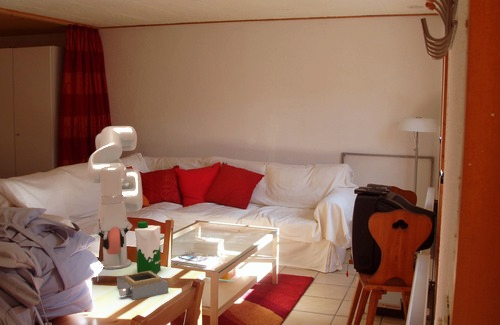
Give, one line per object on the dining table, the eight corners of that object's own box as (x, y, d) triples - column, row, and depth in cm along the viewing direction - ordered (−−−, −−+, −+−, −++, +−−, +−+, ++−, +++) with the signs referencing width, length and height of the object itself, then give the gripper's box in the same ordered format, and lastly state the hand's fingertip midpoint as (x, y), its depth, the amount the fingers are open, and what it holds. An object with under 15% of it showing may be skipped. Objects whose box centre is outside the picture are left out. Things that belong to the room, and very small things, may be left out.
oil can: (105, 251, 205) (103, 217, 203) (118, 249, 207) (117, 216, 206) (109, 255, 201) (108, 220, 199) (122, 252, 203) (121, 218, 201)
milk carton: (142, 268, 223) (141, 219, 221) (163, 269, 221) (162, 220, 219) (134, 274, 214) (132, 224, 212) (155, 275, 213) (154, 225, 211)
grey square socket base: (109, 289, 197) (108, 275, 197) (150, 281, 206) (150, 268, 205) (124, 301, 184) (123, 287, 183) (168, 292, 192) (167, 279, 192)
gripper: (130, 195, 209) (132, 241, 211) (85, 200, 200) (87, 248, 202) (137, 198, 203) (139, 246, 205) (91, 204, 194) (93, 254, 196)
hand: (113, 247), depth 204 cm, fingers closed on oil can, 5 cm apart
